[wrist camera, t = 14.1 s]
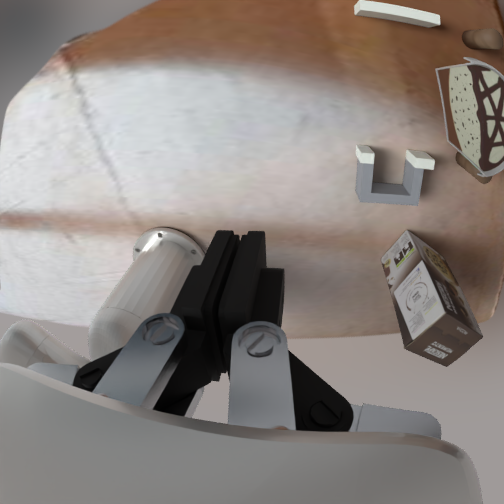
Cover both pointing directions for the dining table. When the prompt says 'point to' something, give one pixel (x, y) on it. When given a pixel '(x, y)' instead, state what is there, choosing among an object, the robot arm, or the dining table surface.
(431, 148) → the dining table surface
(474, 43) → the goal posts
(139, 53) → the dining table surface
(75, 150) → the dining table surface
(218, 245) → the robot arm
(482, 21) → the dining table surface
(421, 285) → the coffee box
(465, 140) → the food container
